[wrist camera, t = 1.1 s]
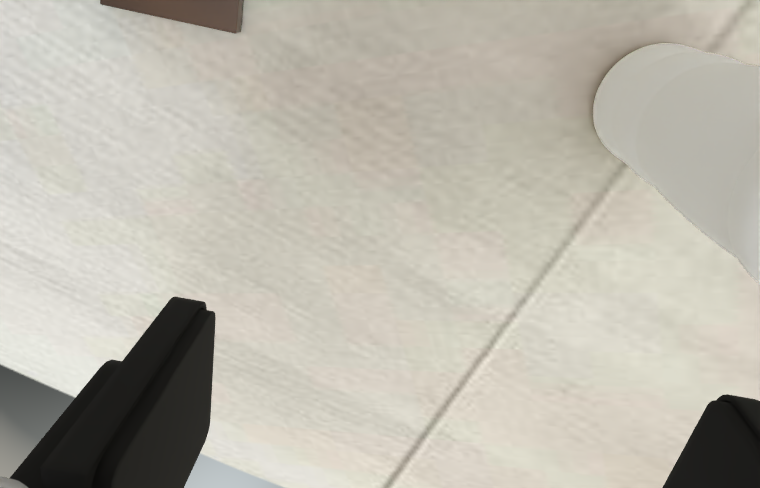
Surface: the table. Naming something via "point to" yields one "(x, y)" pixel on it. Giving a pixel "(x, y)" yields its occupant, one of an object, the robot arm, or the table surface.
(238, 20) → the hook stand
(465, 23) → the table surface
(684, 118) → the water bottle
